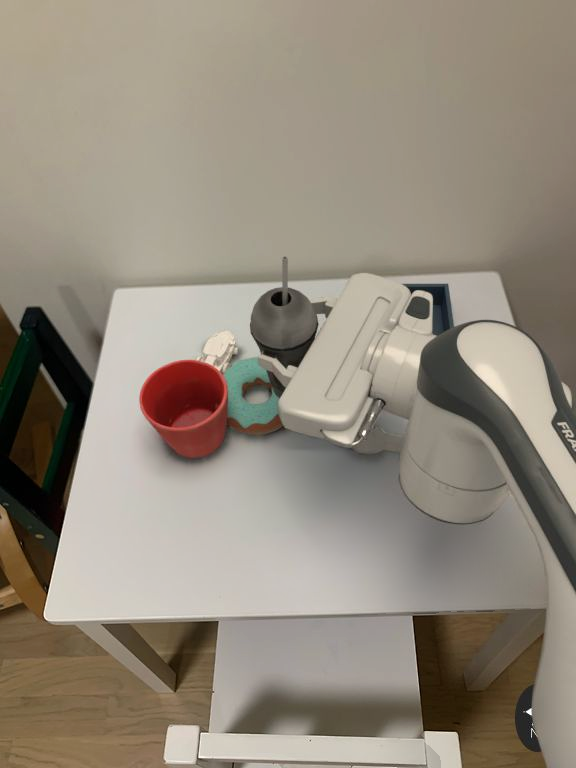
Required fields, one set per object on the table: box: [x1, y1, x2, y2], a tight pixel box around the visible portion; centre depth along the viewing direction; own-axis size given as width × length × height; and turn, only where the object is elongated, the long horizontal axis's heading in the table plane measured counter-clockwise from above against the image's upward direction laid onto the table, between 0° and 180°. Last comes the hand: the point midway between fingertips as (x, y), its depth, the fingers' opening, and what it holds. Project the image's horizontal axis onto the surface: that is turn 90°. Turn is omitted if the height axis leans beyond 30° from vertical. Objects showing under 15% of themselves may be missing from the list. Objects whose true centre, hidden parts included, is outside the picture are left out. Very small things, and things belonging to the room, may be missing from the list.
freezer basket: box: [402, 283, 455, 336], centre depth 86 cm, size 11×11×5 cm
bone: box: [351, 421, 405, 455], centre depth 75 cm, size 18×5×4 cm, turn 71°
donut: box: [215, 356, 284, 436], centre depth 81 cm, size 12×12×4 cm
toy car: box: [195, 330, 239, 375], centre depth 86 cm, size 5×8×4 cm, turn 162°
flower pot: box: [138, 359, 228, 459], centre depth 76 cm, size 11×11×10 cm
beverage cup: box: [249, 255, 319, 398], centre depth 64 cm, size 7×7×20 cm
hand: (278, 329), depth 64 cm, fingers closed on beverage cup, 6 cm apart
